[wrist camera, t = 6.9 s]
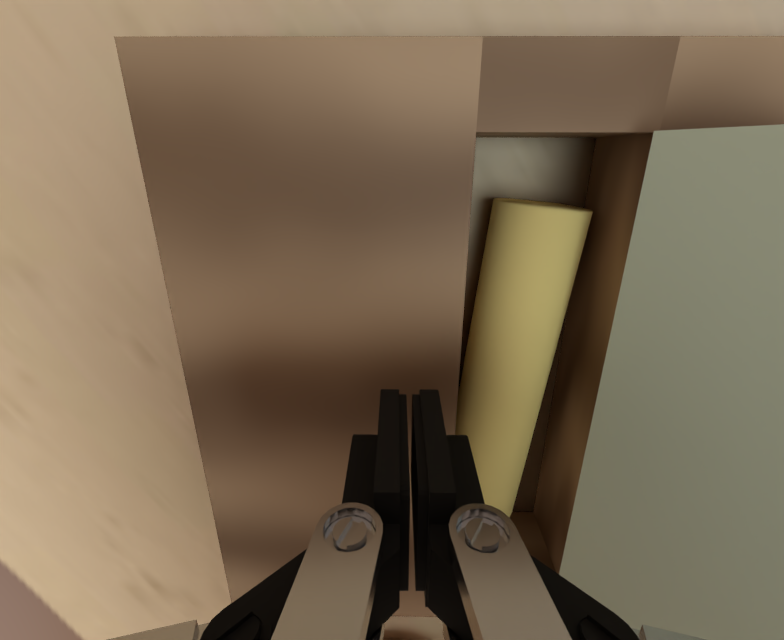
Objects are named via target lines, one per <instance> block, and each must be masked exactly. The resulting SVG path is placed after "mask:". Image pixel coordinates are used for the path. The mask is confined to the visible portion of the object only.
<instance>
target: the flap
mask: <svg viewBox="0 0 784 640" xmlns="http://www.w3.org/2000/svg"><path fill="white" fill-rule="evenodd" d="M559 575H561V576H562V577H563V578H565V579H566V580H568V581H569V582H571V583H572V584H574V585H575V586H576V587H578V588H579V589H581V590H582V591H584V592H585V593H586V594H588V595H589V596H591V597H592V598H594V599H595V600H597V601H598V602H599V603H601V604H602V605H604V606H605V607H607V608H608V609H610V610H611V611H612V612H614V613H615V614H617V615H618V616H619V617H620V618H621V619H622V620H624V621H625V622H626V623H627V624H628V625H629V626H630V627H631V628H634V629H638V630H641V627H642V624H643V625H647V626H651V627H655V628H660V629H664V630H668V631H672V632H677V633H681V634H685V635H689V636H693V637H698V638H702V639H706V640H784V124H781V125H761V126H741V127H721V128H701V129H681V130H661V131H654V133H653V138H652V142H651V147H650V152H649V156H648V161H647V166H646V170H645V175H644V180H643V184H642V189H641V194H640V198H639V203H638V208H637V212H636V217H635V222H634V226H633V231H632V236H631V240H630V245H629V250H628V254H627V259H626V264H625V268H624V273H623V278H622V282H621V287H620V292H619V296H618V301H617V306H616V310H615V315H614V320H613V324H612V329H611V334H610V338H609V343H608V348H607V352H606V357H605V362H604V366H603V371H602V376H601V380H600V385H599V390H598V394H597V399H596V404H595V408H594V413H593V418H592V422H591V427H590V432H589V436H588V441H587V446H586V450H585V455H584V460H583V464H582V469H581V474H580V478H579V483H578V488H577V492H576V497H575V502H574V506H573V511H572V516H571V520H570V525H569V530H568V534H567V539H566V544H565V548H564V553H563V558H562V562H561V567H560V572H559Z"/></svg>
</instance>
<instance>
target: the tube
mask: <svg viewBox="0 0 784 640" xmlns="http://www.w3.org/2000/svg"><path fill="white" fill-rule="evenodd" d="M592 214H593V211H591V210H589V209H585V208H580V207H576V206H570V205H564V204H558V203H550V202H540V201H530V200H521V199H511V198H494V200H493V205H492V211H491V216H490V222H489V227H488V233H487V238H486V244H485V249H484V255H483V260H482V266H481V272H480V277H479V283H478V288H477V294H476V299H475V305H474V310H473V316H472V321H471V327H470V332H469V338H468V344H467V349H466V355H465V360H464V366H463V371H462V377H461V382H460V388H459V393H458V399H457V413H456V427H455V435H467V436H468V439H469V443H470V447H471V451H472V455H473V459H474V463H475V467H476V471H477V475H478V479H479V483H480V487H481V490H482V494H483V498H484V502H485V504H486V505H490V506H493V507H495V508H497V509H499V510H501V511H502V512H503V513H505V514H506V515H507V516H508V517H510V515H511V513H512V510H513V507H514V503H515V499H516V495H517V492H518V488H519V484H520V481H521V477H522V473H523V469H524V466H525V462H526V458H527V455H528V451H529V447H530V444H531V440H532V436H533V432H534V429H535V425H536V421H537V418H538V414H539V410H540V406H541V403H542V399H543V395H544V392H545V388H546V384H547V380H548V377H549V373H550V369H551V366H552V362H553V358H554V355H555V351H556V347H557V343H558V340H559V336H560V332H561V329H562V325H563V321H564V317H565V314H566V310H567V306H568V303H569V299H570V295H571V291H572V288H573V284H574V280H575V277H576V273H577V269H578V266H579V262H580V258H581V254H582V251H583V247H584V243H585V240H586V236H587V232H588V228H589V225H590V221H591V217H592Z"/></svg>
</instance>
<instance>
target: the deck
mask: <svg viewBox="0 0 784 640" xmlns="http://www.w3.org/2000/svg"><path fill="white" fill-rule="evenodd" d="M114 38H115V43H116V47H117V52H118V57H119V62H120V67H121V71H122V76H123V81H124V86H125V91H126V96H127V100H128V105H129V110H130V115H131V120H132V124H133V129H134V134H135V139H136V144H137V149H138V153H139V158H140V163H141V168H142V173H143V177H144V182H145V187H146V192H147V197H148V202H149V206H150V211H151V216H152V221H153V226H154V230H155V235H156V240H157V245H158V250H159V255H160V259H161V264H162V269H163V274H164V279H165V283H166V288H167V293H168V298H169V303H170V308H171V312H172V317H173V322H174V327H175V332H176V336H177V341H178V346H179V351H180V356H181V361H182V365H183V370H184V375H185V380H186V385H187V389H188V394H189V399H190V404H191V409H192V414H193V418H194V423H195V428H196V433H197V438H198V442H199V447H200V452H201V457H202V462H203V467H204V471H205V476H206V481H207V486H208V491H209V495H210V500H211V505H212V510H213V515H214V520H215V524H216V529H217V534H218V539H219V544H220V548H221V553H222V558H223V563H224V568H225V573H226V577H227V582H228V587H229V592H230V597H231V601H232V603H233V602H234V601H235V600H237V599H238V598H240V597H241V596H242V595H244V594H245V593H247V592H248V591H249V590H251V589H252V588H253V587H255V586H256V585H258V584H259V583H260V582H262V581H263V580H264V579H266V578H267V577H269V576H270V575H271V574H273V573H274V572H275V571H277V570H278V569H280V568H281V567H282V566H284V565H285V564H286V563H288V562H289V561H291V560H292V559H293V558H295V557H296V556H297V555H299V554H300V553H302V552H303V551H304V550H306V549H307V548H308V545H309V543H310V540H311V538H312V535H313V533H314V530H315V528H316V525H317V523H318V522H319V520H320V518H321V517H322V515H324V514H325V513H326V512H327V511H328V510H329V509H331V508H333V507H335V506H337V505H340V504H342V498H343V492H344V486H345V479H346V473H347V467H348V461H349V454H350V448H351V442H352V436H353V434H373V435H377V434H378V420H379V405H380V391H381V389H399V394H406V396H407V422H408V447H409V473H410V534H409V589H408V591H400V608H399V609H398V610H397V611H396V612H395V613H394V614H393V615H392V616H424V617H437V616H436V615H435V614H434V613H433V612H432V611H431V610H430V609H429V608H428V607H425V596H424V591H416V588H415V565H414V542H413V518H412V494H411V429H412V394H419V390H420V389H438V391H439V396H440V402H441V407H442V413H443V419H444V425H445V430H446V435H455V427H456V413H457V399H458V384H459V370H460V356H461V342H462V328H463V313H464V299H465V285H466V271H467V256H468V242H469V228H470V214H471V199H472V185H473V171H474V157H475V142H476V137H587V138H596V143H595V148H594V154H593V160H592V166H591V172H590V178H589V184H588V190H587V196H586V202H585V209H589V210H591V211H593V214H592V217H591V221H590V225H589V228H588V232H587V236H586V240H585V243H584V247H583V251H582V254H581V258H580V262H579V266H578V269H577V273H576V277H575V280H574V284H573V288H572V291H571V295H570V299H569V303H568V309H567V315H566V321H565V327H564V332H563V338H562V344H561V350H560V356H559V362H558V368H557V374H556V380H555V386H554V392H553V398H552V404H551V410H550V416H549V421H548V427H547V433H546V439H545V445H544V451H543V457H542V463H541V469H540V475H539V481H538V487H537V493H536V499H535V505H534V510H533V512H512V513H511V515H510V517H509V518H510V519H511V520H512V522H513V523H514V525H515V526H516V528H517V530H518V532H519V534H520V536H521V538H522V540H523V542H524V544H525V546H526V548H527V550H528V552H529V554H530V555H532V556H533V557H535V558H536V559H537V560H539V561H540V562H542V563H543V564H545V565H546V566H548V567H549V568H550V569H552V570H553V571H555V572H556V573H558V574H559V572H560V567H561V562H562V558H563V553H564V548H565V544H566V539H567V534H568V530H569V525H570V520H571V516H572V511H573V506H574V502H575V497H576V492H577V488H578V483H579V478H580V474H581V469H582V464H583V460H584V455H585V450H586V446H587V441H588V436H589V432H590V427H591V422H592V418H593V413H594V408H595V404H596V399H597V394H598V390H599V385H600V380H601V376H602V371H603V366H604V362H605V357H606V352H607V348H608V343H609V338H610V334H611V329H612V324H613V320H614V315H615V310H616V306H617V301H618V296H619V292H620V287H621V282H622V278H623V273H624V268H625V264H626V259H627V254H628V250H629V245H630V240H631V236H632V231H633V226H634V222H635V217H636V212H637V208H638V203H639V198H640V194H641V189H642V184H643V180H644V175H645V170H646V166H647V161H648V156H649V152H650V147H651V142H652V138H653V133H654V131H661V130H681V129H701V128H721V127H741V126H761V125H781V124H784V36H402V37H114Z"/></svg>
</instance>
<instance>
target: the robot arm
mask: <svg viewBox="0 0 784 640" xmlns="http://www.w3.org/2000/svg"><path fill="white" fill-rule="evenodd" d="M411 494H412V518H413V542H414V565H415V588H416V591H424V596H425V607H428V608H429V609H430V610H431V611H432V612H433V613H434V614H435V615H436V616H437V617H438V618H439V619H440V620H441V621H442V626H443V635H444V639H445V640H706V639H702V638H698V637H693V636H689V635H685V634H681V633H677V632H672V631H668V630H664V629H660V628H655V627H651V626H647V625H643V624H642V627H641V630H638V629H634V628H631V627H630V626H629V625H628V624H627V623H626V622H625V621H624V620H622V619H621V618H620V617H619V616H618V615H617V614H615V613H614V612H612V611H611V610H610V609H608V608H607V607H605V606H604V605H602V604H601V603H599V602H598V601H597V600H595V599H594V598H592V597H591V596H589V595H588V594H586V593H585V592H584V591H582V590H581V589H579V588H578V587H576V586H575V585H574V584H572V583H571V582H569V581H568V580H566V579H565V578H563V577H562V576H561V575H559V574H558V573H556V572H555V571H553V570H552V569H550V568H549V567H548V566H546V565H545V564H543V563H542V562H540V561H539V560H537V559H536V558H535V557H533V556H532V555H530V554H529V552H528V550H527V548H526V546H525V544H524V542H523V540H522V538H521V536H520V534H519V532H518V530H517V528H516V526H515V525H514V523H513V522H512V520H511V519H510V518H509V517H508V516H507V515H506V514H505V513H503V512H502V511H501V510H499V509H497V508H495V507H493V506H490V505H486V504H485V502H484V498H483V494H482V490H481V487H480V483H479V479H478V475H477V471H476V467H475V463H474V459H473V455H472V451H471V447H470V443H469V439H468V436H467V435H446V430H445V425H444V419H443V413H442V407H441V402H440V396H439V391H438V389H420V390H419V394H412V429H411ZM409 534H410V473H409V447H408V422H407V396H406V394H399V389H381V391H380V405H379V420H378V434H377V435H373V434H353V436H352V442H351V448H350V454H349V461H348V467H347V473H346V479H345V486H344V492H343V498H342V504H340V505H337V506H335V507H333V508H331V509H329V510H328V511H327V512H326V513H325V514H324V515H322V517H321V518H320V520H319V522H318V523H317V525H316V528H315V530H314V533H313V535H312V538H311V540H310V543H309V545H308V548H307V549H306V550H304V551H303V552H302V553H300V554H299V555H297V556H296V557H295V558H293V559H292V560H291V561H289V562H288V563H286V564H285V565H284V566H282V567H281V568H280V569H278V570H277V571H275V572H274V573H273V574H271V575H270V576H269V577H267V578H266V579H264V580H263V581H262V582H260V583H259V584H258V585H256V586H255V587H253V588H252V589H251V590H249V591H248V592H247V593H245V594H244V595H242V596H241V597H240V598H238V599H237V600H235V601H234V602H233V603H231V604H230V605H229V606H227V607H226V608H224V609H223V610H222V611H221V612H220V613H219V614H218V615H216V616H215V617H214V618H213V619H212V620H211V622H210V623H207V624H202V625H198V624H197V620H193V621H188V622H184V623H179V624H175V625H171V626H166V627H162V628H157V629H153V630H148V631H144V632H139V633H135V634H130V635H126V636H121V637H117V638H112V639H108V640H383V636H384V623H385V622H386V621H387V620H388V619H389V618H390V617H391V616H392V615H393V614H394V613H395V612H396V611H397V610H398V609H399V608H400V591H408V589H409Z"/></svg>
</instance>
